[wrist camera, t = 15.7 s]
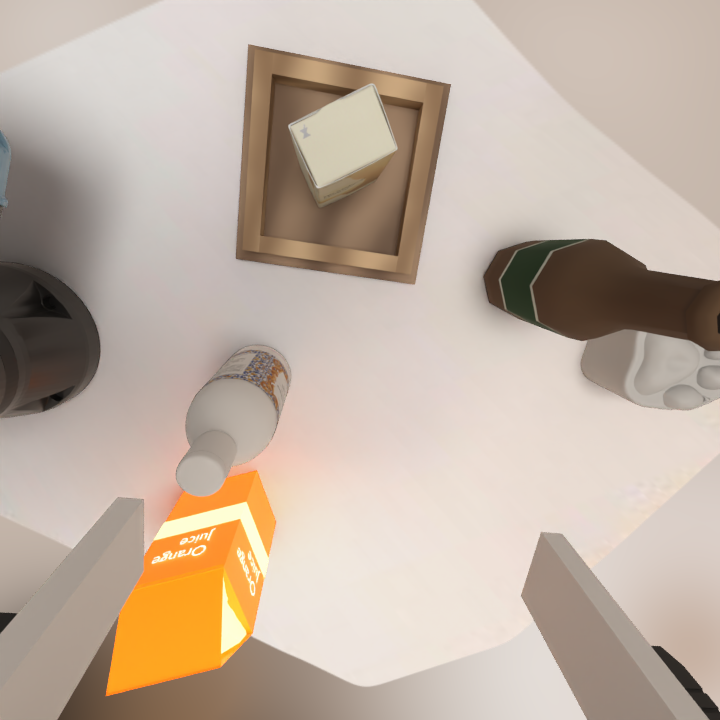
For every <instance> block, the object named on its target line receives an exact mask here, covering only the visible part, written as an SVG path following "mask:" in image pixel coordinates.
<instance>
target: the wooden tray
mask: <svg viewBox="0 0 720 720" xmlns="http://www.w3.org/2000/svg"><path fill="white" fill-rule="evenodd" d="M371 83H372V84H375V86H376V88H377V91H378V93H379V96H380V99H381V101H382V104H383V107H384V110H385V112H386V115H387V118H388V120H389V124H390V126H391V129H392V132H393V135H394V139H395V141H396V144H397V148H398V149H397V151H396V152H395V154H394V155H393V157H392V158H391V160H390V161H389V162H388V164H387V165H386V167H385V168H384V170H383V171H382V173H381V174H380V175H379V177H378V179H377V180H376V181H375V182H373V183H371V184H370V185H368V186H366V187H364V188H362V189H360V190H358V191H356V192H354V193H353V194H351V195H348V196H346V197H344V198H342V199H340V200H338V201H336V202H333V203H331V204H329V205H327V206H324V207H322V208H319V207H318V205H317V203H316V201H315V199H314V197H313V195H312V193H311V191H310V188H309V186H308V184H307V182H306V179H305V177H304V175H303V172H302V170H301V167H300V165H299V161H298V158H297V155H296V151H295V148H294V144H293V141H292V137H291V134H290V131H289V127H288V125H289V124H291V123H293V122H295V121H297V120H299V119H301V118H303V117H305V116H307V115H308V114H310V113H312V112H314V111H316V110H318V109H320V108H322V107H324V106H326V105H328V104H330V103H332V102H334V101H336V100H338V99H340V98H342V97H344V96H346V95H348V94H350V93H352V92H354V91H356V90H358V89H360V88H362V87H364V86H366V85H368V84H371ZM450 86H451V84H446V83H441V82H436V81H431V80H426V79H421V78H416V77H411V76H406V75H401V74H396V73H391V72H386V71H380V70H375V69H370V68H365V67H360V66H355V65H350V64H345V63H340V62H335V61H330V60H325V59H320V58H315V57H310V56H305V55H300V54H295V53H289V52H284V51H279V50H274V49H269V48H264V47H259V46H254V45H249V44H248V61H247V78H246V95H245V112H244V129H243V147H242V164H241V181H240V198H239V215H238V232H237V249H236V259H242V260H249V261H256V262H263V263H270V264H276V265H283V266H290V267H297V268H304V269H311V270H318V271H325V272H332V273H339V274H346V275H353V276H360V277H367V278H374V279H381V280H388V281H395V282H402V283H408V284H415V281H416V275H417V269H418V264H419V258H420V253H421V247H422V242H423V236H424V230H425V225H426V219H427V214H428V208H429V203H430V197H431V192H432V186H433V180H434V175H435V169H436V164H437V158H438V153H439V147H440V142H441V136H442V130H443V125H444V119H445V114H446V108H447V103H448V97H449V92H450Z"/></svg>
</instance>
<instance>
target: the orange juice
mask: <svg viewBox="0 0 720 720" xmlns="http://www.w3.org/2000/svg"><path fill="white" fill-rule="evenodd" d="M275 524H276V521H275V518H274V515H273V512H272V510H271V507H270V504H269V502H268V499H267V496H266V493H265V491H264V488H263V485H262V483H261V480H260V477H259V474H258V472H257V470H256V471H253V472H249V473H245V474H241V475H237V476H233V477H229V478H226V480H225V482H224V484H223V485H222V487H221V488H220V489H219V490H218V491H217V492H216V493H214V494H212V495H210V496H205V497H198V496H193V495H190V494H188V493H187V492H185V491H184V492H183V494H182V495H181V497H180V499H179V500H178V502H177V504H176V505H175V507H174V508H173V510H172V512H171V513H170V515H169V517H168V518H167V520H166V522H164V524H163V525H162V527H161V529H160V530H159V532H158V534H157V535H156V537H155V538H154V540H153V543H152V544H151V546H150V548H149V549H148V551H147V553H146V554H145V556H144V572H143V574H142V576H141V577H140V579H139V581H138V582H137V584H136V586H135V587H134V589H133V591H132V593H131V594H130V596H129V598H128V599H127V601H126V603H125V605H124V606H123V608H122V610H121V611H120V615H119V621H118V627H117V633H116V639H115V645H114V651H113V657H112V663H111V669H110V675H109V681H108V687H107V693H106V696H107V695H112V694H116V693H120V692H124V691H128V690H132V689H136V688H140V687H144V686H148V685H152V684H156V683H160V682H164V681H168V680H172V679H176V678H180V677H184V676H188V675H192V674H196V673H200V672H204V671H208V670H212V669H216V668H220V667H221V666H222V664H224V663H225V662H226V661H227V659H229V657H230V656H231V655H232V654H233V653H234V652H235V651H236V650H237V649H238V648H239V647H240V646H241V645H242V644H243V643H244V642H245V641H246V640H247V639H248V637H250V636H251V634H253V629H254V624H255V619H256V615H257V610H258V605H259V600H260V596H261V591H262V586H263V581H264V578H265V574H266V570H267V565H268V560H269V559H268V558H269V553H270V548H271V543H272V539H273V534H274V529H275Z"/></svg>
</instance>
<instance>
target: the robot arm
mask: <svg viewBox="0 0 720 720" xmlns="http://www.w3.org/2000/svg"><path fill="white" fill-rule="evenodd" d="M10 161H11V148H10V145H9V142H8V140H7V138H6V137H5V135H4V134H3V132H2V131H1V130H0V218H1V214H2V210H3V207H5V208H7V204H8V201H7V199H6V198H5V191H6V185H7V179H8V173H9V167H10ZM99 354H100V346H99V338H98V333H97V330H96V326H95V324H94V321H93V319H92V317H91V315H90V313H89V312H88V310H87V308H86V307H85V305H84V304H83V303H82V301H81V300H80V299H79V298H78V297H77V295H76V294H75V293H74V292H73V291H72V290H71V289H69V288H68V287H67V286H66V285H65V284H63V283H62V282H61V281H59V280H58V279H56V278H55V277H53V276H51V275H50V274H48V273H46V272H44V271H41V270H39V269H36V268H34V267H31V266H27V265H23V264H18V263H10V262H0V418H8V417H15V416H22V415H29V414H35V413H40V412H44V411H47V410H50V409H52V408H55V407H57V406H59V405H61V404H62V403H64V402H66V401H68V400H69V399H71V398H73V397H74V396H76V395H77V394H79V393H80V392H81V391H82V390H83V389H84V388H85V387H86V386H87V385H88V384H89V382H90V381H91V379H92V378H93V376H94V374H95V371H96V369H97V365H98V361H99ZM143 572H144V499H132V498H120V497H118V498H117V499H116V500H115V501H114V502H113V504H112V505H111V506H110V507H109V508H108V509H107V511H106V512H105V513H104V514H103V515H102V516H101V518H100V519H99V520H98V521H97V522H96V523H95V525H94V526H93V527H92V528H91V529H90V530H89V531H88V533H87V534H86V535H85V536H84V537H83V538H82V540H81V541H80V542H79V543H78V544H77V545H76V547H75V548H74V549H73V550H72V551H71V553H70V554H69V555H68V556H67V557H66V558H65V559H64V560H63V562H62V563H61V564H60V565H59V567H58V568H57V569H56V570H55V571H54V572H53V573H52V574H51V576H50V577H49V578H48V579H47V580H46V581H45V583H44V584H43V585H42V586H41V587H40V588H39V590H38V591H37V592H36V593H35V594H34V595H33V596H32V598H31V599H30V600H29V601H28V602H27V603H26V605H25V606H24V607H23V608H22V609H21V610H20V612H19V613H18V614H16V613H0V720H57V719H58V717H59V716H60V714H61V712H62V710H63V709H64V707H65V705H66V704H67V702H68V700H69V698H70V697H71V695H72V693H73V692H74V690H75V688H76V686H77V685H78V683H79V681H80V679H81V678H82V676H83V675H84V673H85V671H86V669H87V668H88V666H89V664H90V663H91V661H92V659H93V657H94V656H95V654H96V652H97V651H98V649H99V647H100V645H101V644H102V642H103V640H104V639H105V637H106V635H107V634H108V632H109V630H110V628H111V626H112V625H113V623H114V622H115V620H116V618H117V616H118V615H119V613H120V611H121V610H122V608H123V606H124V605H125V603H126V601H127V599H128V598H129V596H130V594H131V593H132V591H133V589H134V587H135V586H136V584H137V582H138V581H139V579H140V577H141V576H142V574H143ZM521 597H522V599H523V600H524V602H525V604H526V606H527V608H528V610H529V612H530V614H531V615H532V617H533V619H534V621H535V623H536V625H537V627H538V628H539V630H540V632H541V634H542V636H543V638H544V640H545V641H546V643H547V645H548V647H549V649H550V651H551V653H552V655H553V656H554V658H555V660H556V662H557V664H558V666H559V668H560V669H561V671H562V673H563V675H564V677H565V679H566V681H567V683H568V685H569V686H570V688H571V690H572V692H573V694H574V696H575V697H576V699H577V701H578V703H579V705H580V707H581V709H582V711H583V713H584V715H585V716H586V718H587V720H720V712H719V710H718V707H717V706H716V705H715V703H714V702H713V701H712V700H711V699H710V697H709V696H708V695H707V694H706V693H703V691H702V688H701V687H700V685H699V684H698V683H697V682H696V681H695V679H694V678H693V677H692V676H691V675H690V673H689V672H688V671H687V670H686V669H685V667H684V666H683V665H682V664H680V663H679V662H678V661H677V660H676V659H675V658H673V657H672V656H671V655H670V654H669V653H668V652H666V651H665V650H664V649H663V648H662V647H660V646H651V645H650V644H649V643H648V642H647V641H646V639H645V638H644V637H643V635H642V634H641V633H640V632H639V630H638V629H637V628H636V627H635V626H634V624H633V623H632V621H631V620H630V619H629V618H628V617H627V615H626V614H625V613H624V611H623V610H622V609H621V608H620V607H619V605H618V604H617V603H616V601H615V600H614V599H613V598H612V596H611V595H610V594H609V592H608V591H607V590H606V589H605V587H604V586H603V585H602V584H601V582H600V581H599V580H598V579H597V577H595V575H594V574H593V572H592V571H591V570H590V568H589V567H588V566H587V565H586V563H585V562H584V561H583V560H582V558H581V557H580V556H579V555H578V553H577V552H576V551H575V550H574V548H573V547H572V546H571V545H570V543H569V542H568V541H567V539H566V538H565V537H564V536H563V534H558V533H546V532H541V534H540V538H539V541H538V544H537V547H536V550H535V553H534V556H533V560H532V563H531V566H530V569H529V572H528V575H527V578H526V582H525V585H524V588H523V591H522V594H521Z"/></svg>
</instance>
